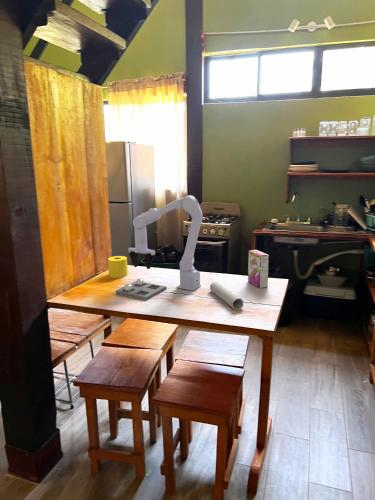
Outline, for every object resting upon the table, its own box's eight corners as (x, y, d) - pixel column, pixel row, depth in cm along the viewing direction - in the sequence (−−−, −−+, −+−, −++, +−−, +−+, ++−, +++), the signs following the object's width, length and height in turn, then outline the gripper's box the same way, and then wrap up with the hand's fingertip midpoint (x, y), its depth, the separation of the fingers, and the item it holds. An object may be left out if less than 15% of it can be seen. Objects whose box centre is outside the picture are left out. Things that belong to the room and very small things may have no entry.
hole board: (166, 289, 170) (166, 286, 170) (146, 300, 157) (146, 297, 157) (136, 283, 179) (136, 280, 179) (115, 293, 166) (115, 290, 165)
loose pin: (145, 286, 174) (144, 279, 173) (141, 288, 172) (140, 281, 171) (139, 285, 176) (139, 278, 175) (135, 287, 173) (135, 280, 172)
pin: (133, 292, 167) (133, 284, 166) (129, 294, 164) (128, 286, 163) (128, 291, 168) (127, 283, 168) (123, 293, 166) (123, 285, 165)
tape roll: (120, 271, 201) (119, 255, 199) (131, 274, 194) (130, 258, 192) (105, 275, 194) (104, 258, 192) (116, 279, 187) (115, 261, 185)
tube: (206, 283, 167) (230, 301, 144) (216, 278, 168) (241, 296, 145) (209, 293, 168) (234, 312, 146) (219, 288, 170) (245, 306, 147)
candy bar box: (247, 281, 180) (247, 250, 176) (255, 280, 181) (256, 249, 178) (259, 288, 170) (260, 255, 166) (268, 287, 171) (269, 254, 167)
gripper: (123, 240, 171) (125, 267, 174) (148, 243, 164) (149, 271, 167) (132, 238, 177) (134, 264, 180) (157, 240, 170) (158, 267, 173)
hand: (142, 267), depth 174 cm, fingers open, 7 cm apart
